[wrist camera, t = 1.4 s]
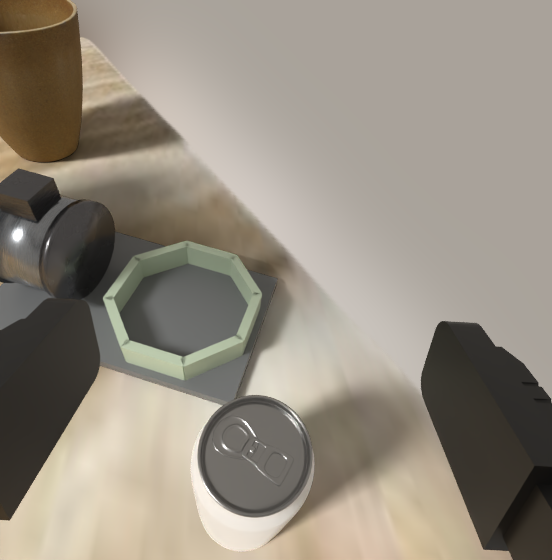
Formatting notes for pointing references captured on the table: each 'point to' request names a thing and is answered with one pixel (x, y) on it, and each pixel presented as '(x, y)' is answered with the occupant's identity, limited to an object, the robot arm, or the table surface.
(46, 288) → the cylinder
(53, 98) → the plant pot
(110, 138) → the table surface
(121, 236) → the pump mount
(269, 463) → the can
